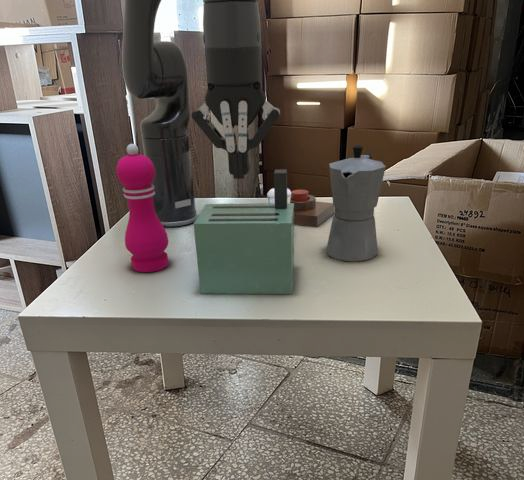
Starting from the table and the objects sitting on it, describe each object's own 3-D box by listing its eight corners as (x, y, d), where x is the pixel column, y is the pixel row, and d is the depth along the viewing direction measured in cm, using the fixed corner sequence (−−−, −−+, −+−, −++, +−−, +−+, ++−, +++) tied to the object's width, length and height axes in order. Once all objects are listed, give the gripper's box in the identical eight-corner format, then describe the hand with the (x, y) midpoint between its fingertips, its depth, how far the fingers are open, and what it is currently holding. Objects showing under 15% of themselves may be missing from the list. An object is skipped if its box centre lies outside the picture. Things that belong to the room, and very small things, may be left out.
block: (264, 220, 110) (263, 201, 108) (284, 207, 117) (284, 189, 115) (317, 227, 105) (317, 207, 103) (334, 213, 113) (335, 194, 111)
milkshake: (292, 230, 104) (292, 179, 99) (290, 239, 99) (290, 186, 94) (269, 230, 104) (268, 179, 99) (267, 239, 100) (265, 186, 95)
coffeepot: (369, 269, 85) (378, 154, 76) (314, 262, 89) (316, 152, 79) (388, 239, 97) (398, 137, 88) (339, 234, 101) (344, 135, 91)
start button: (288, 201, 109) (288, 193, 108) (295, 197, 112) (295, 188, 111) (304, 203, 107) (304, 194, 106) (311, 198, 110) (311, 190, 109)
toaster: (200, 293, 80) (193, 223, 74) (211, 268, 88) (205, 203, 82) (291, 294, 78) (291, 222, 73) (294, 268, 87) (293, 202, 81)
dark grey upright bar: (274, 208, 79) (273, 173, 76) (275, 203, 81) (275, 169, 78) (286, 208, 78) (286, 172, 76) (287, 203, 81) (287, 169, 78)
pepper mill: (136, 277, 86) (113, 150, 76) (124, 263, 92) (102, 143, 81) (177, 268, 89) (161, 144, 78) (164, 255, 94) (147, 138, 84)
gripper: (284, 41, 71) (284, 171, 80) (189, 44, 73) (200, 172, 82) (280, 43, 65) (281, 183, 74) (177, 45, 66) (190, 184, 75)
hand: (239, 177), depth 78 cm, fingers closed
